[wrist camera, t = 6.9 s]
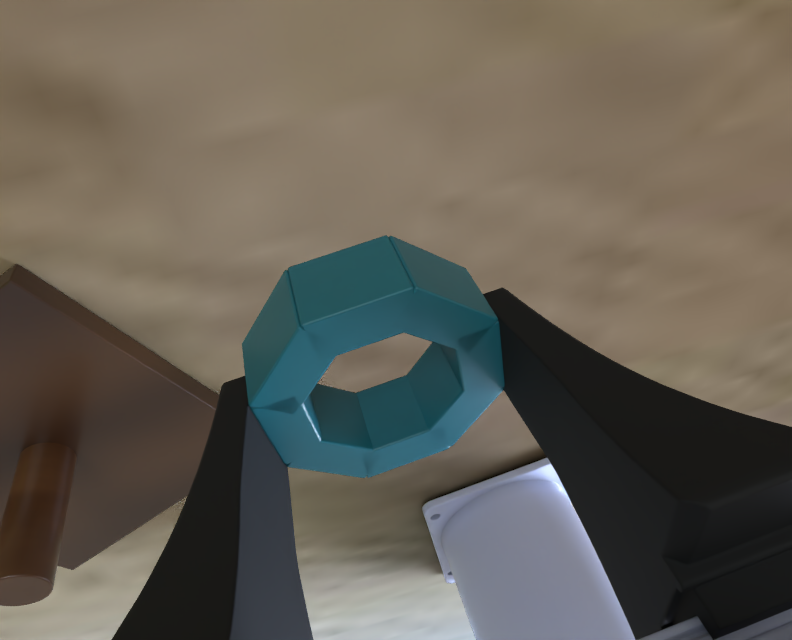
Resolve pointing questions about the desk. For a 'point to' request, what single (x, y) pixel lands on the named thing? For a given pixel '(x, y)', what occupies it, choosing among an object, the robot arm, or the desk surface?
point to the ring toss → (83, 435)
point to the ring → (359, 326)
